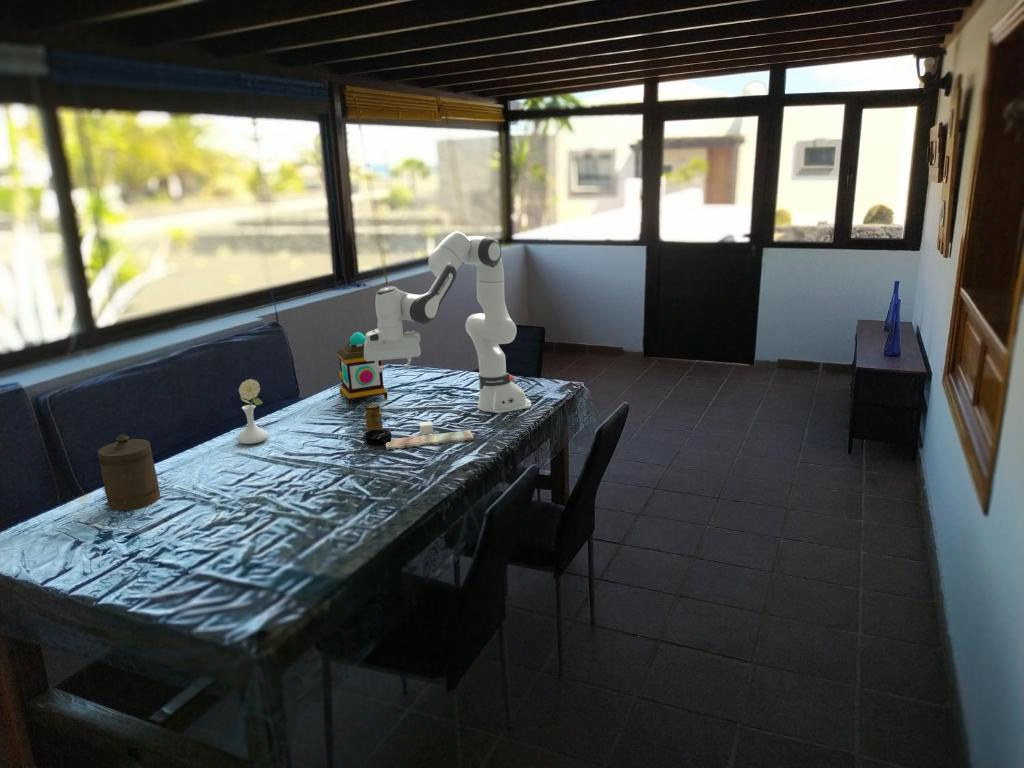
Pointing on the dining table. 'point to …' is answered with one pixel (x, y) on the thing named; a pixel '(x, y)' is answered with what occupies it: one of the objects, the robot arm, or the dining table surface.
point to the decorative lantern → (359, 371)
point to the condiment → (373, 417)
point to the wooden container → (128, 474)
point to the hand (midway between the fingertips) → (393, 370)
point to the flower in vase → (251, 414)
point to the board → (429, 439)
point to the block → (426, 428)
